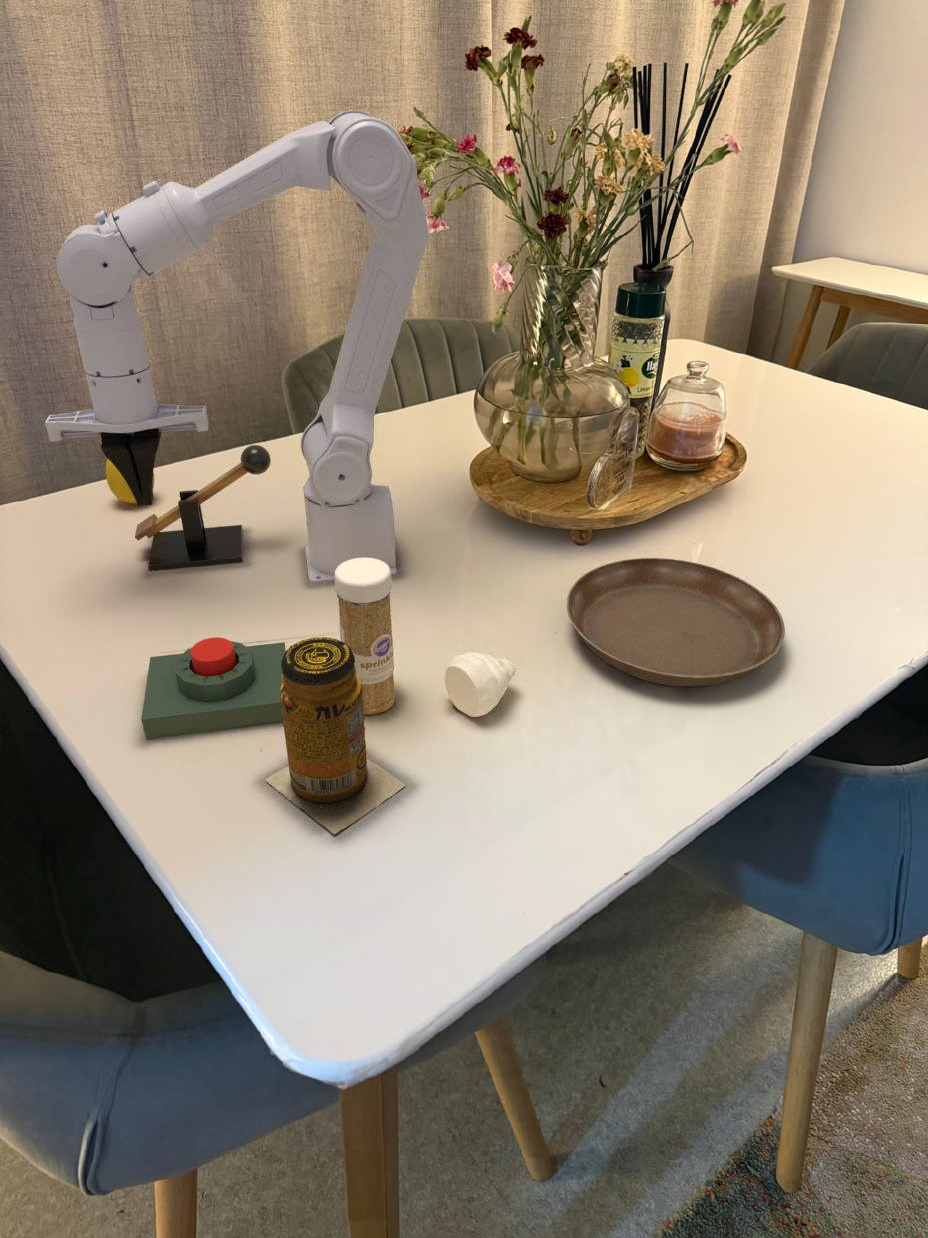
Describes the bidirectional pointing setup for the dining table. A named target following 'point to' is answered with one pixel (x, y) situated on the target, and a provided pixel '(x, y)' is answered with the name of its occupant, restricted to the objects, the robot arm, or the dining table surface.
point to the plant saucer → (675, 621)
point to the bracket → (195, 541)
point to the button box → (213, 693)
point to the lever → (210, 489)
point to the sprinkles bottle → (368, 627)
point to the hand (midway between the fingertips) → (145, 501)
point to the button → (213, 656)
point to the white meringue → (477, 682)
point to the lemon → (119, 484)
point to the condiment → (327, 737)
